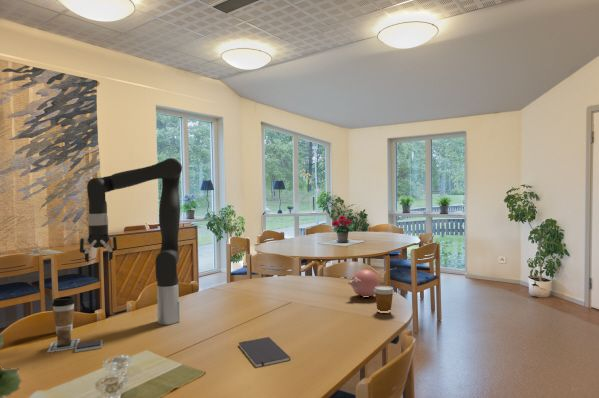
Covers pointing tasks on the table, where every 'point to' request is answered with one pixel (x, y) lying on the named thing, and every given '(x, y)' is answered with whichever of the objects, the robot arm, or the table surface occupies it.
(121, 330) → the table surface
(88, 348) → the inkpad
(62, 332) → the stamp
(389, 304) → the disposable coffee cup
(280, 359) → the notebook
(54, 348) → the card
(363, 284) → the pink rounded piece
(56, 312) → the coffee cup
